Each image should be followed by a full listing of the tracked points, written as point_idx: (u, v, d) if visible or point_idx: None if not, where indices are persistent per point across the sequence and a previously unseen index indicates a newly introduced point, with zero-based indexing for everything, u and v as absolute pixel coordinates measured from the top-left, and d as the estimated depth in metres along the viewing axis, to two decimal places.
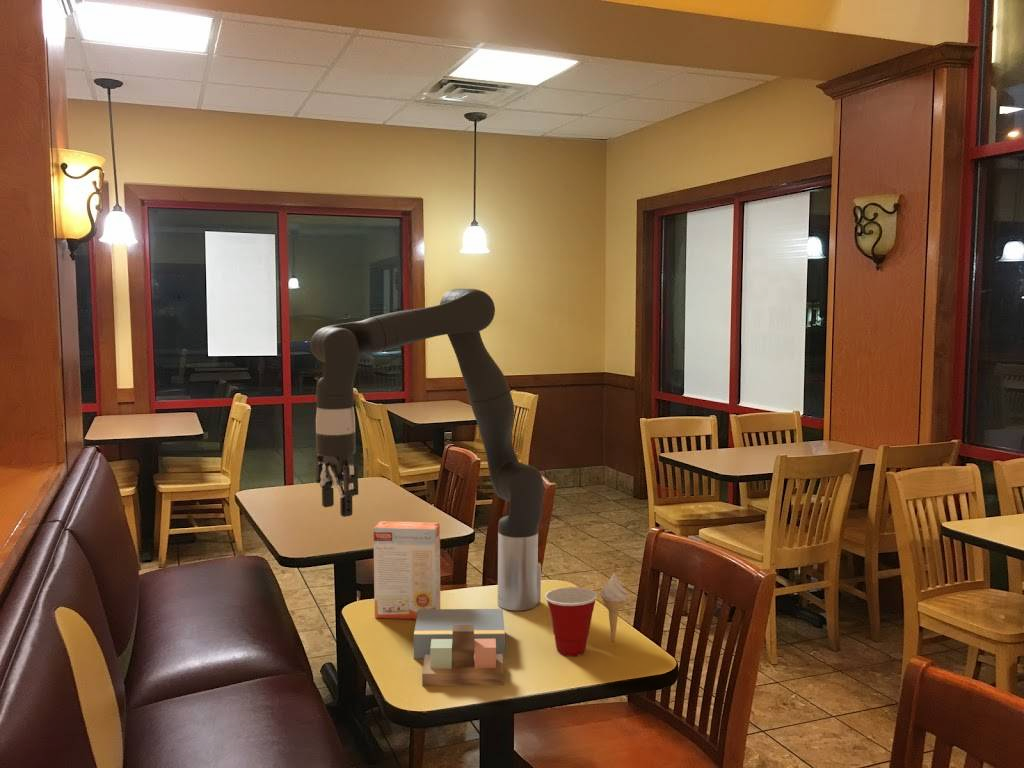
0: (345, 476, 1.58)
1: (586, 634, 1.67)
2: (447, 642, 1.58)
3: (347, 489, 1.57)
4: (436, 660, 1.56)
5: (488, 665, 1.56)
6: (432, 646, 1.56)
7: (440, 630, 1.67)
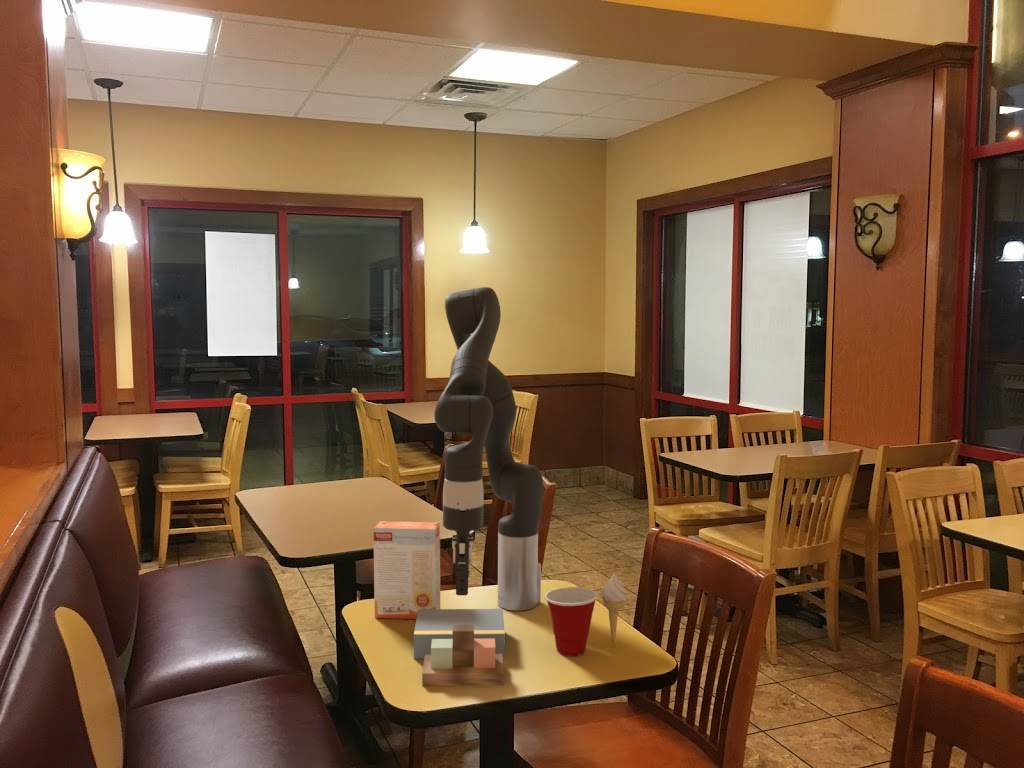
0: None
1: (586, 634, 1.67)
2: (447, 642, 1.58)
3: None
4: (436, 660, 1.56)
5: (487, 665, 1.56)
6: (433, 646, 1.56)
7: (440, 630, 1.67)
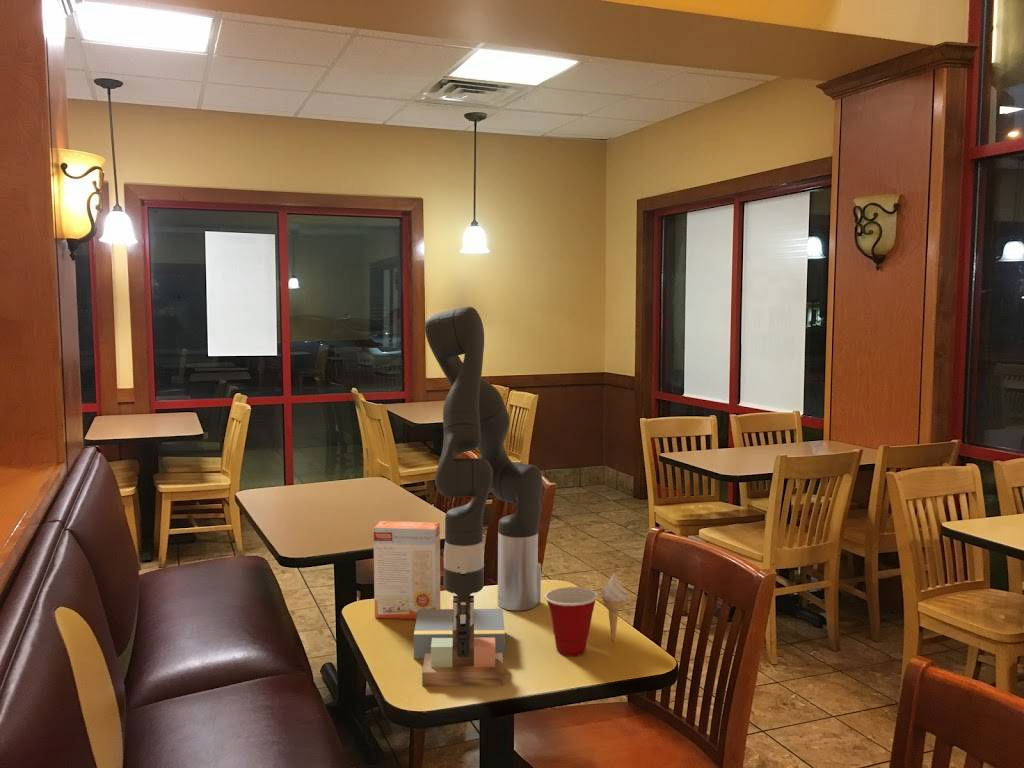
0: None
1: (586, 634, 1.67)
2: (447, 641, 1.58)
3: None
4: (436, 659, 1.56)
5: (487, 664, 1.56)
6: (433, 645, 1.56)
7: (440, 630, 1.67)
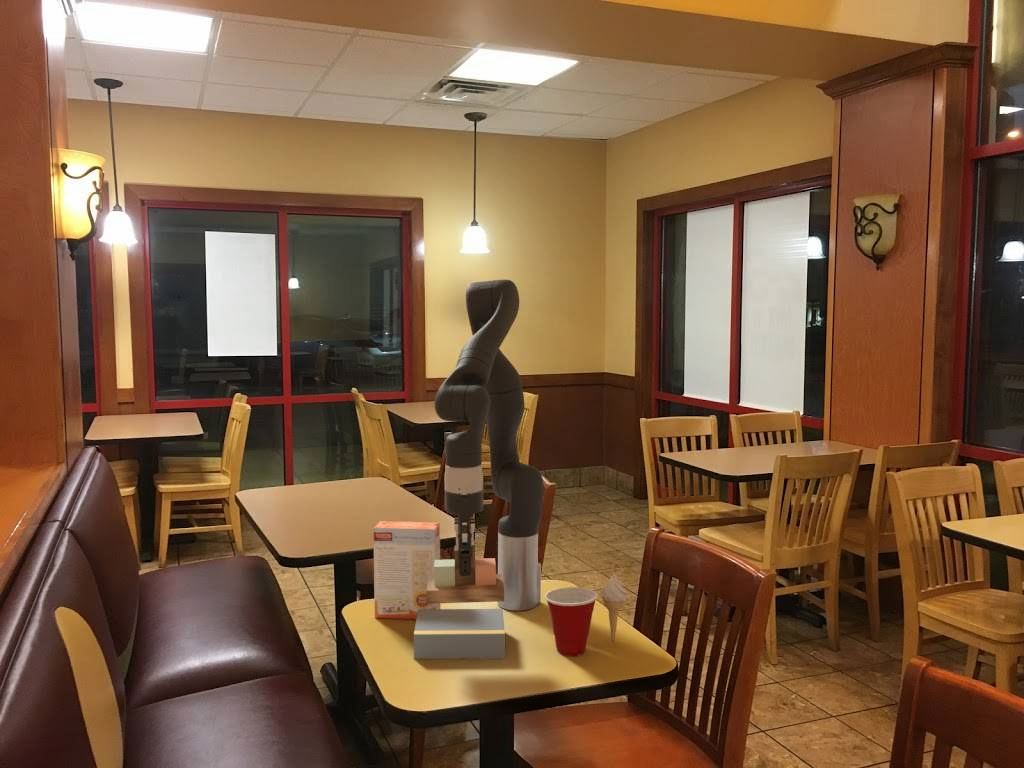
0: None
1: (586, 634, 1.67)
2: (449, 562, 1.65)
3: None
4: (440, 578, 1.62)
5: (488, 582, 1.63)
6: (436, 565, 1.63)
7: (440, 630, 1.67)
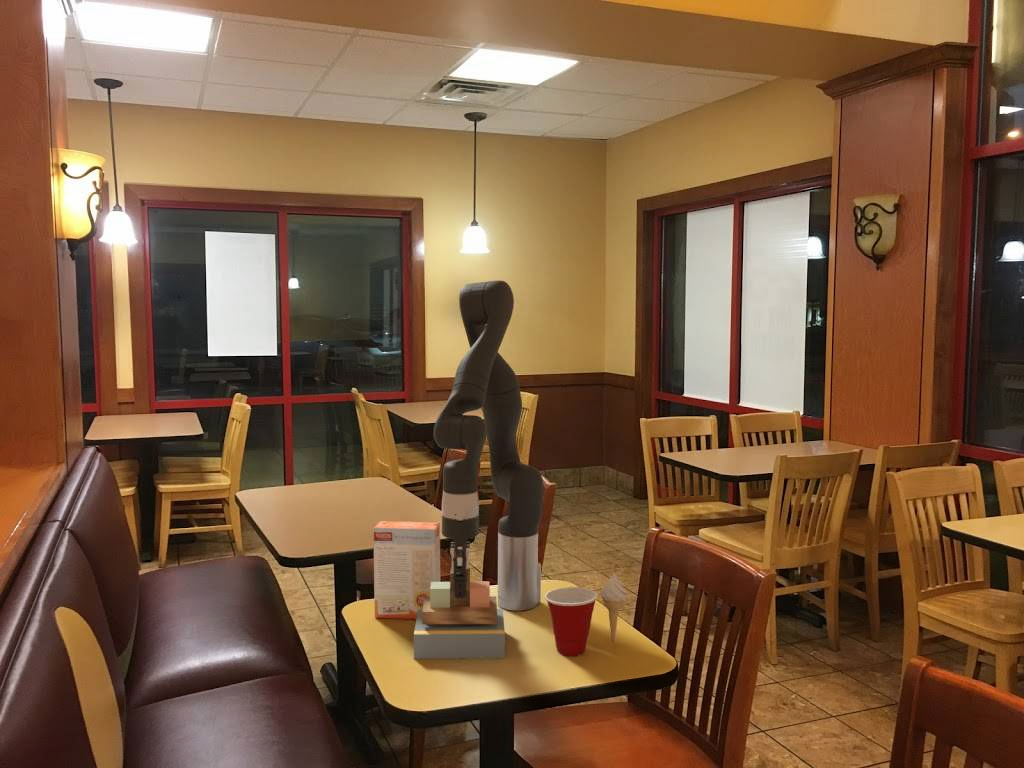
0: None
1: (586, 634, 1.67)
2: (445, 584, 1.71)
3: None
4: (435, 600, 1.69)
5: (482, 605, 1.69)
6: (432, 587, 1.69)
7: (440, 630, 1.67)
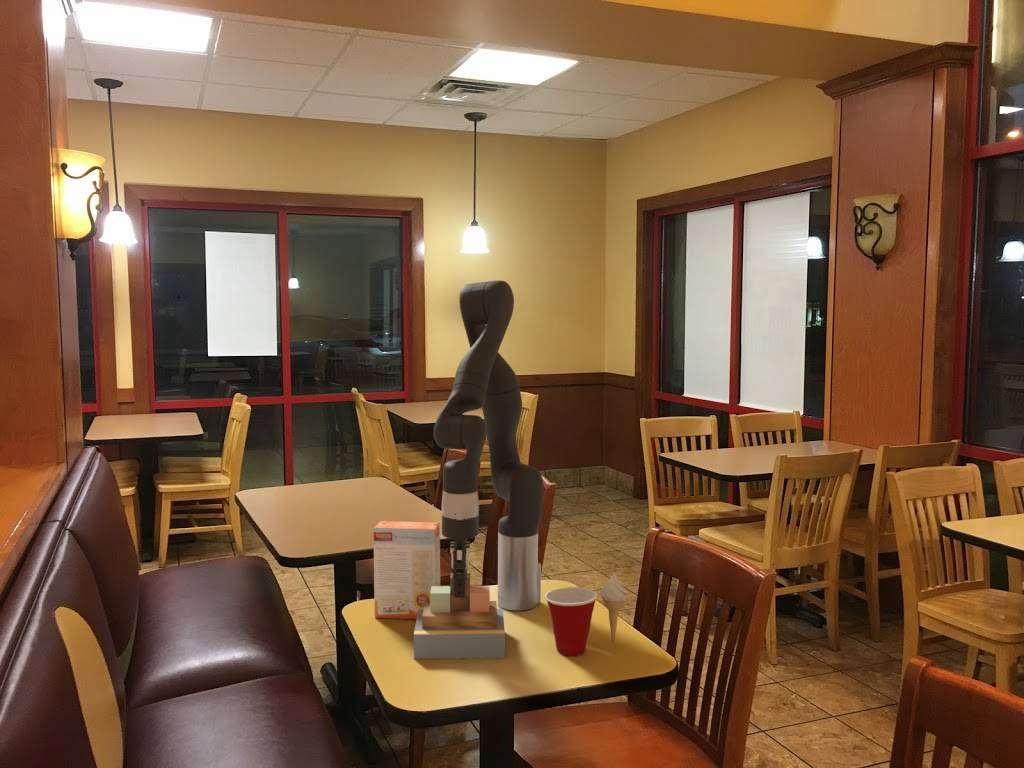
0: (466, 540, 1.76)
1: (586, 634, 1.67)
2: (445, 588, 1.71)
3: None
4: (435, 604, 1.69)
5: (482, 609, 1.70)
6: (432, 592, 1.69)
7: (440, 630, 1.67)
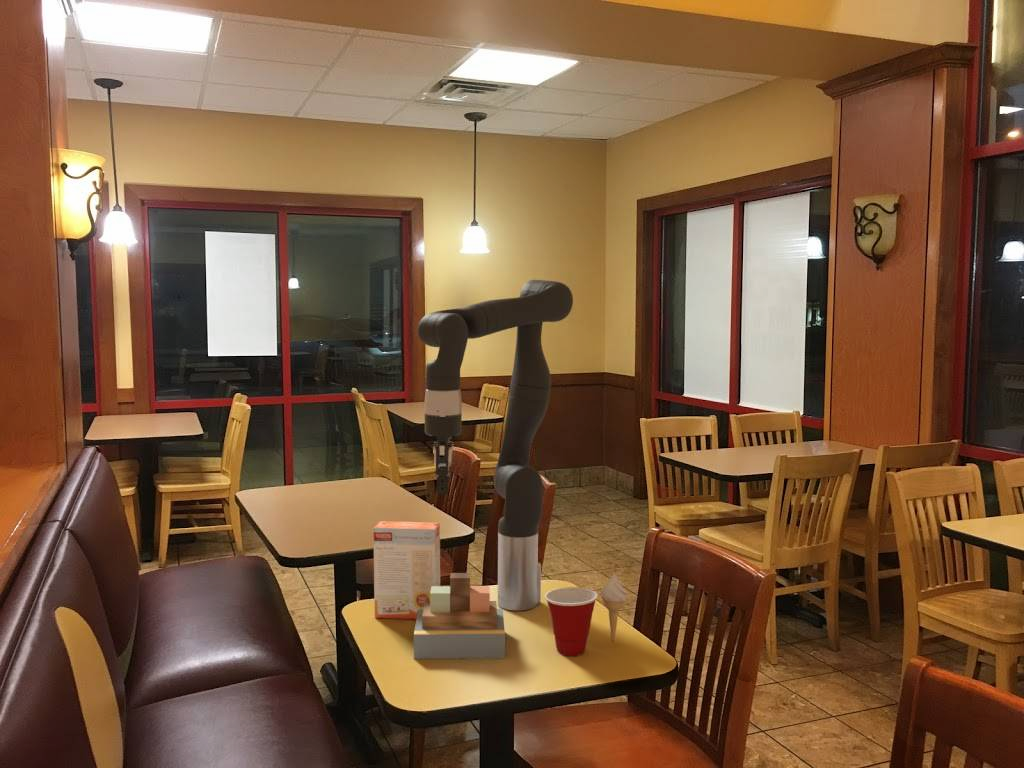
0: None
1: (586, 634, 1.67)
2: (445, 588, 1.71)
3: None
4: (435, 604, 1.69)
5: (482, 609, 1.70)
6: (432, 592, 1.69)
7: (440, 630, 1.67)
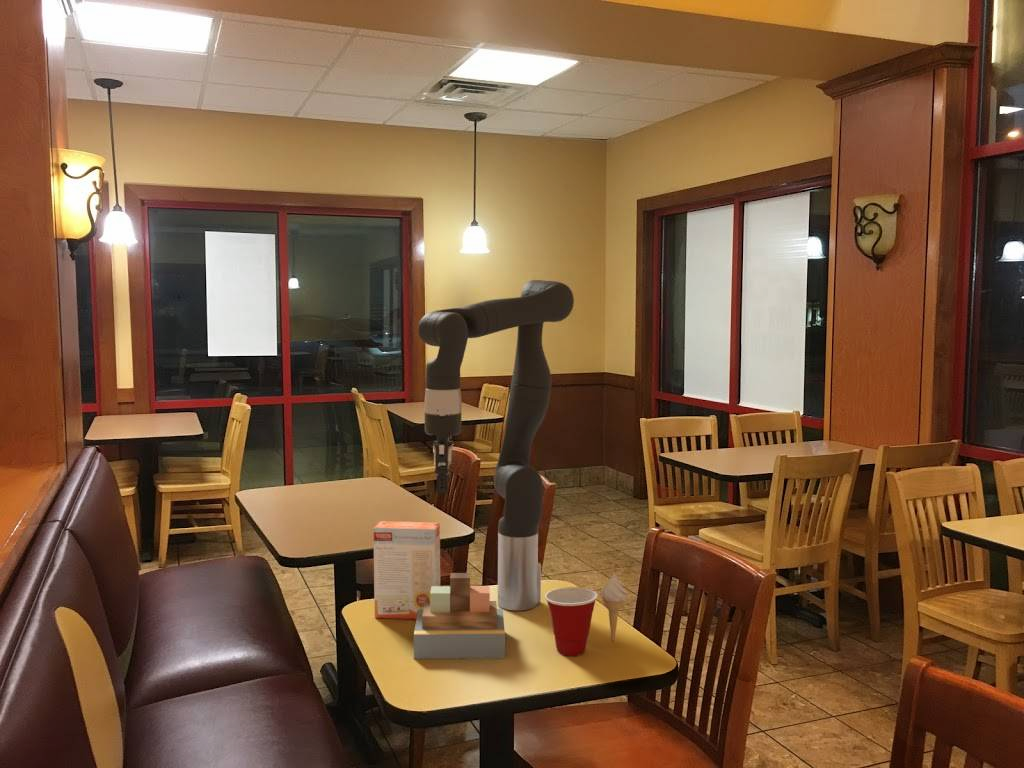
0: None
1: (586, 634, 1.67)
2: (445, 588, 1.71)
3: None
4: (435, 604, 1.69)
5: (482, 609, 1.70)
6: (432, 592, 1.69)
7: (440, 630, 1.67)
